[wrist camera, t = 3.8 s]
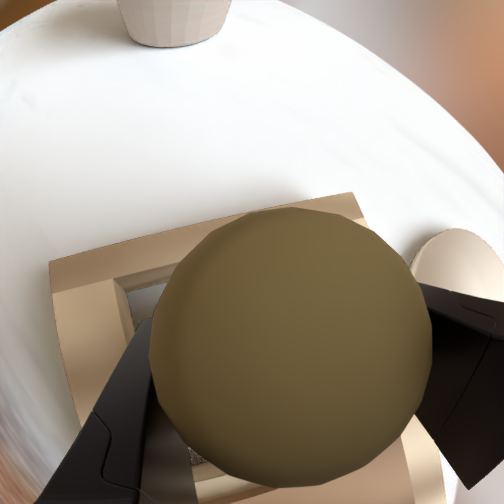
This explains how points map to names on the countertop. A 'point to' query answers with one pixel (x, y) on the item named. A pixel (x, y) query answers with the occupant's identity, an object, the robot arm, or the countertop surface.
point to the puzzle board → (122, 330)
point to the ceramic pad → (460, 265)
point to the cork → (291, 347)
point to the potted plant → (173, 20)
